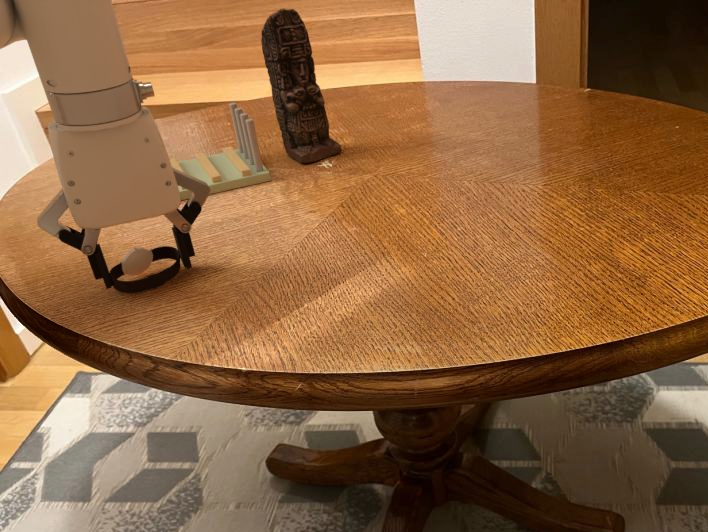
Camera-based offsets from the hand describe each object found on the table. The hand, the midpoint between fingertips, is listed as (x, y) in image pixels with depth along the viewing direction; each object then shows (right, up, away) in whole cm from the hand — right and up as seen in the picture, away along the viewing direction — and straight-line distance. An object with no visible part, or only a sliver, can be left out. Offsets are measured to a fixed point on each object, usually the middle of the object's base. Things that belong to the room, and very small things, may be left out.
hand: (147, 272), depth 77 cm
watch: (0, -1, +1) cm, 1 cm away
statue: (+11, +20, +31) cm, 39 cm away
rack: (-4, +15, +24) cm, 29 cm away
